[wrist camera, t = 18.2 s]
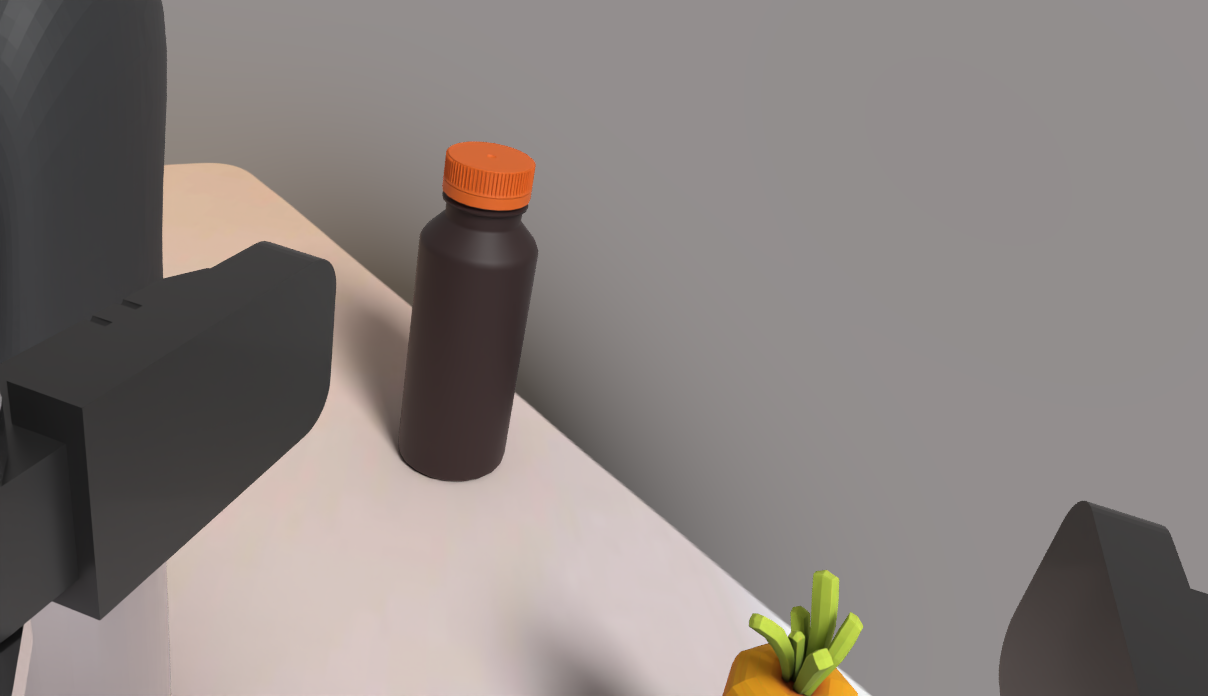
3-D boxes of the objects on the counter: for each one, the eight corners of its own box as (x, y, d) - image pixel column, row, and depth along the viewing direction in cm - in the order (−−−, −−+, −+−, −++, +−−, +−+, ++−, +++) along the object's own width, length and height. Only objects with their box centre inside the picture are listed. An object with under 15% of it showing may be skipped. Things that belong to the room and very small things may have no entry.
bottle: (408, 488, 59) (443, 176, 50) (389, 424, 64) (417, 131, 55) (515, 480, 62) (568, 183, 52) (488, 419, 67) (532, 139, 58)
